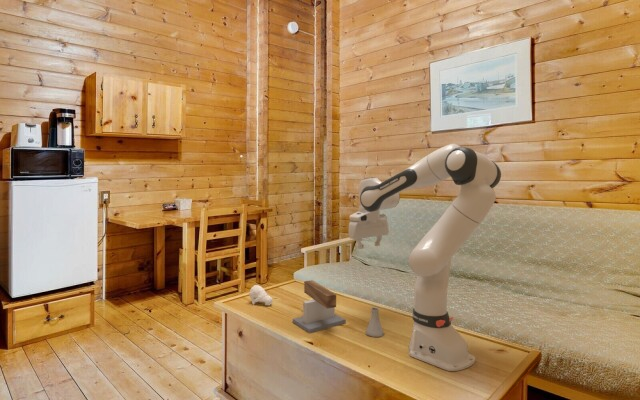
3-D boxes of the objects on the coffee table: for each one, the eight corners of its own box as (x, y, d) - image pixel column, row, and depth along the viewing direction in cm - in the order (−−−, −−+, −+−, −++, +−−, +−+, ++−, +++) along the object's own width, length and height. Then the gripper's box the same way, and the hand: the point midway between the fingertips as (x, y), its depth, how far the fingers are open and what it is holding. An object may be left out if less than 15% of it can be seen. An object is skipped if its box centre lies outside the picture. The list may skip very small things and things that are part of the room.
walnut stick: (312, 291, 170) (312, 280, 170) (336, 307, 150) (336, 294, 150) (304, 292, 168) (304, 281, 168) (327, 308, 149) (327, 296, 148)
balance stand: (345, 323, 160) (345, 299, 159) (309, 333, 150) (309, 308, 149) (327, 313, 171) (327, 291, 170) (292, 322, 161) (292, 299, 160)
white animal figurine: (256, 282, 188) (276, 288, 182) (255, 299, 189) (275, 305, 183) (248, 286, 182) (268, 292, 177) (247, 303, 183) (267, 310, 178)
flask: (363, 336, 147) (363, 310, 147) (367, 328, 154) (367, 304, 153) (382, 338, 145) (382, 313, 144) (385, 331, 152) (386, 306, 151)
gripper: (381, 213, 174) (381, 243, 174) (346, 216, 162) (346, 248, 163) (391, 214, 168) (391, 245, 169) (355, 217, 157) (356, 251, 158)
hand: (369, 247), depth 166 cm, fingers open, 8 cm apart
